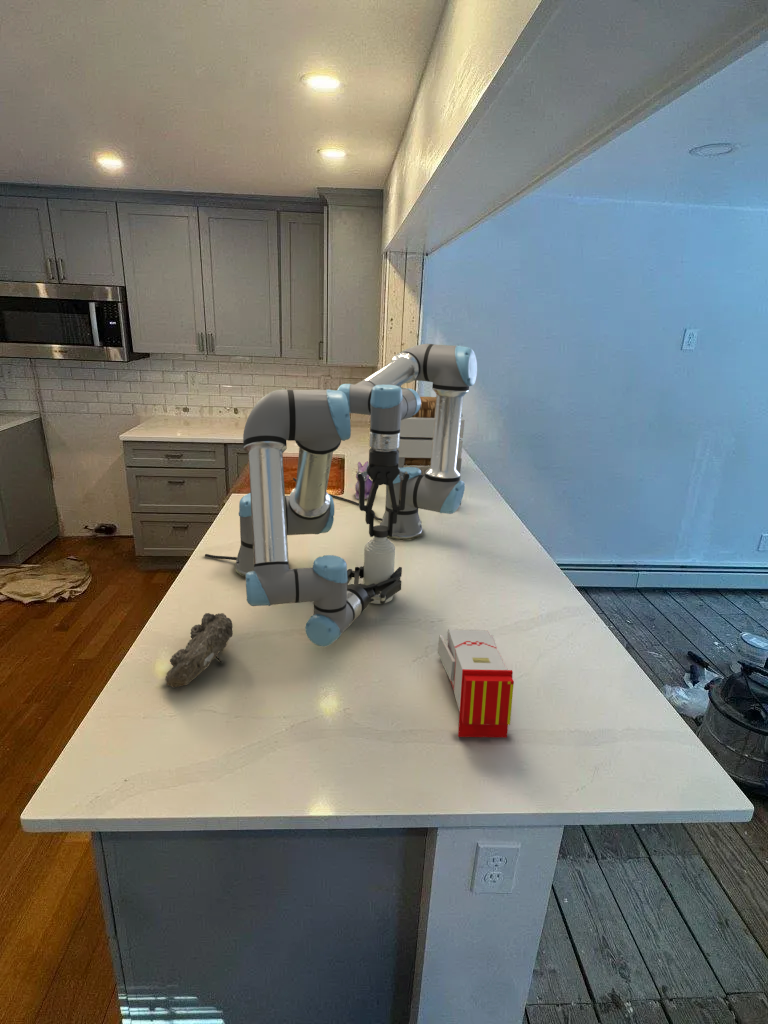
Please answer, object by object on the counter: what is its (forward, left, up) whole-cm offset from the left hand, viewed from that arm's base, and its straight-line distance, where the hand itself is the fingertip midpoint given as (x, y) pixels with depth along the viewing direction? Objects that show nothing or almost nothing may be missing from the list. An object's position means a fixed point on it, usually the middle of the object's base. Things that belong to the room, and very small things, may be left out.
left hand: (385, 568), depth 158 cm
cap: (0, -5, +13) cm, 14 cm away
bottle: (0, -5, -7) cm, 8 cm away
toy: (+34, -34, -7) cm, 48 cm away
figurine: (-40, +72, -7) cm, 82 cm away
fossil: (-22, -50, -7) cm, 55 cm away
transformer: (-32, +119, -7) cm, 123 cm away
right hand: (0, -5, +12) cm, 13 cm away
